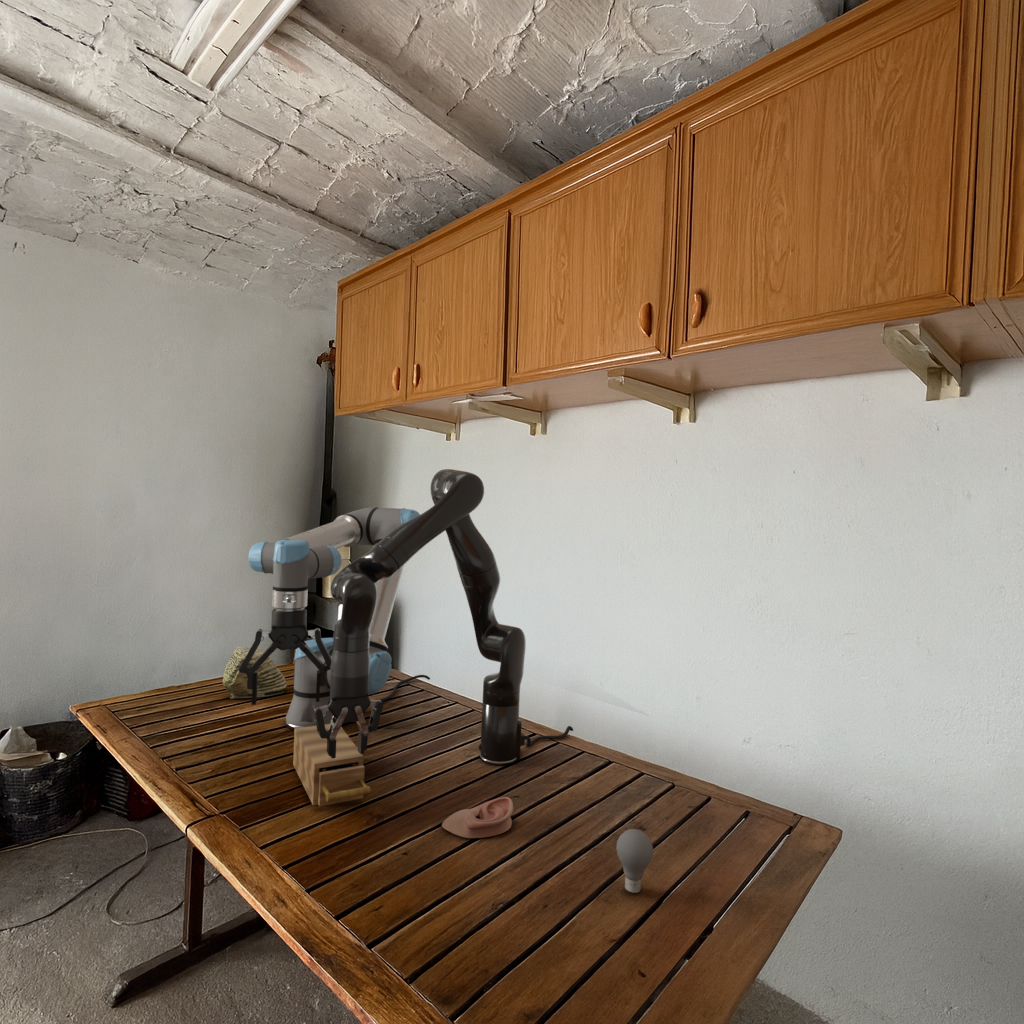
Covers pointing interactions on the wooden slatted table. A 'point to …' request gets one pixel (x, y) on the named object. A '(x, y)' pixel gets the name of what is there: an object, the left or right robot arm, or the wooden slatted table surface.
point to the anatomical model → (481, 819)
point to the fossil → (267, 679)
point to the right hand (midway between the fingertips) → (347, 754)
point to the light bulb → (634, 857)
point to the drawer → (341, 784)
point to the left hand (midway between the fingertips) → (286, 701)
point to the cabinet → (320, 756)
